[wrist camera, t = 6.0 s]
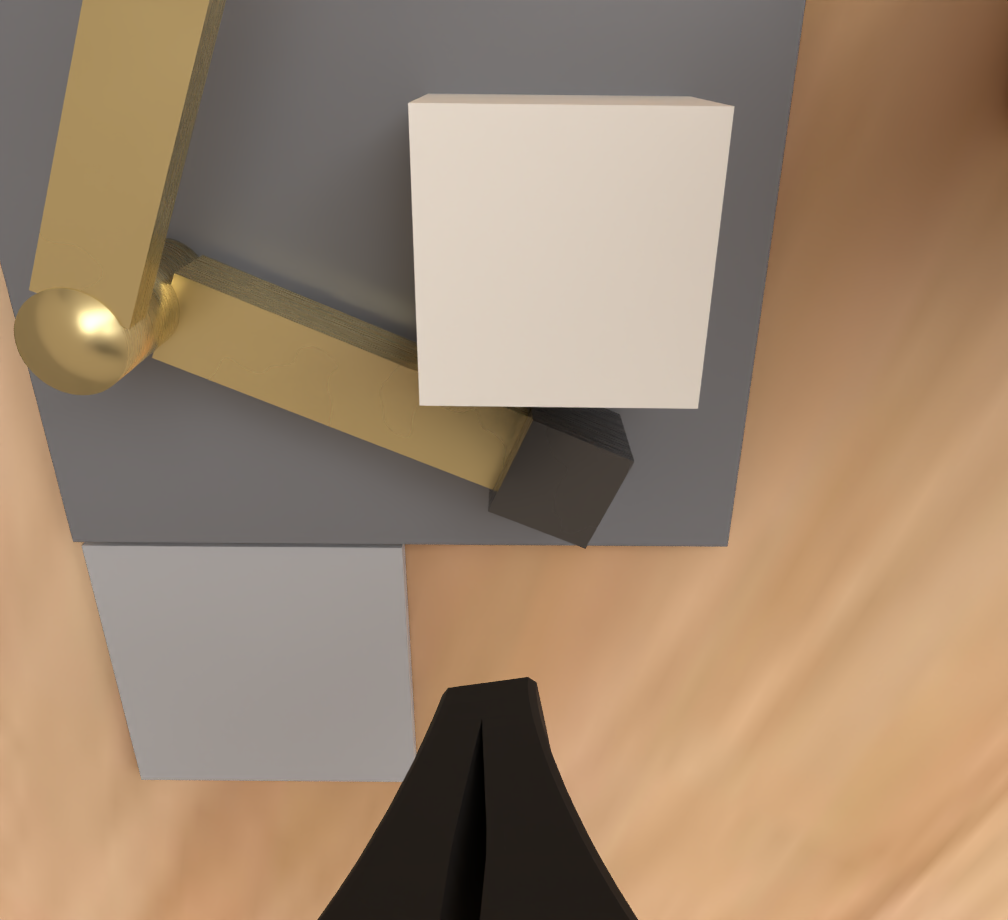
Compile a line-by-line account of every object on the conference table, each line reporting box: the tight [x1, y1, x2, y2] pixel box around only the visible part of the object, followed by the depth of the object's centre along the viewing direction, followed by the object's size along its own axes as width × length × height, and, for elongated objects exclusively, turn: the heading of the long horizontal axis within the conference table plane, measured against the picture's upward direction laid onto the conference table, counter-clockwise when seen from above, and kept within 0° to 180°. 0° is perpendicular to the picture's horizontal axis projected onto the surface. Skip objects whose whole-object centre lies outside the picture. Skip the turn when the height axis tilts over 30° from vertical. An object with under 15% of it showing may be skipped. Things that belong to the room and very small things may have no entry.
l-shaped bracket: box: [14, 0, 634, 549], centre depth 15 cm, size 10×11×4 cm
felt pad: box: [82, 542, 416, 782], centre depth 23 cm, size 8×8×1 cm
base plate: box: [0, 0, 806, 546], centre depth 18 cm, size 16×12×1 cm
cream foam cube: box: [408, 94, 734, 409], centre depth 15 cm, size 5×5×4 cm
